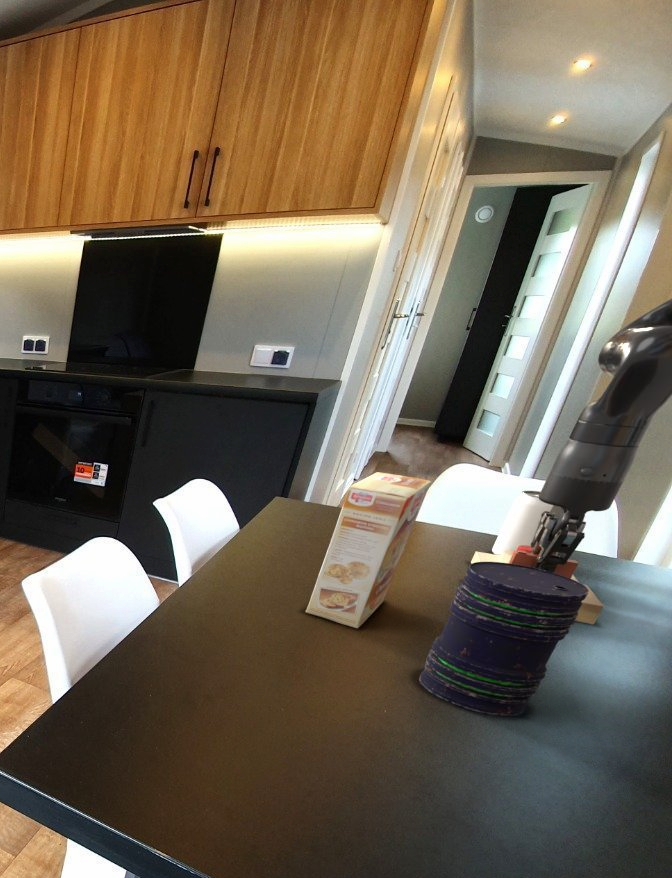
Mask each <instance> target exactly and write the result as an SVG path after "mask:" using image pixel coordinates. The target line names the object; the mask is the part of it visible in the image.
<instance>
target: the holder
mask: <svg viewBox="0 0 672 878" xmlns="http://www.w3.org/2000/svg"><path fill="white" fill-rule="evenodd" d="M538 556H539V554H533V553H527V552H526V551H523V550H517V551H514V553H513V555H512V557H511V559H510V561H509V563H510V564H516V565H522V566H527V567H532V568H533V567H534V565H535V563H536V561H537V560H536V559H537V557H538ZM578 566H579V562H578V561H577V560H575V559H570V558H569V559H568V560H567V563H565V565H560V566H557V567H556V569H555V571H554V573H556V574H559V575H562V576H565V577H568V578H570V579H571V577H572V575H574V573H575V571H576V569H577V568H578Z"/></svg>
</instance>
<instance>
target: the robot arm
mask: <svg viewBox="0 0 672 878" xmlns="http://www.w3.org/2000/svg"><path fill="white" fill-rule="evenodd" d="M597 361H598V366H599V368H600V370H601V372H604V374H606V375H608V376H610V377H612V379H611V381H610V382H609V384H608V385H607V387H606V389H605V390H604V392H602V395H601V396H600V397H598V398H595V399H593V400H590V401H589V402H588V403H587V404H585V406H584V407H583V408H582V410H581V412H580V413H579V416H578V418H577V420H576V422H575V423H574V426H573V428H572V430H571V432H570V435H569V436H568V439H567V440H566V442H565V444H564V445H563V447H562V448H561V449H560V451H559V453H558V455H557V457H556V458H555V461H554V463H553V465H552V467H551V469H550V471H549V473H548V475H547V477H546V480H545V482H544V485H543V486H542V488H541V490H540V491H539V492H540V494H539V500H540V501H542V502H544V503H547V504H550V505H553V507H552V509H551V510H550V512H548V511H544V512H543V513H542V514H541V519H540V521H539V524H538V527H537V530H536V533H535V535H534V538H533V541H532V542H531V547H532V548H533V549H531V553H533V554H539V556H538V557H537V559H536V560H537V561H536V563H535V565H534V567H533V568H537V569H541V570H545V571H549V572H552V573H554V571H555V569H556V567H557V566H560V565H565V563H567V560H568V559H570V558H571V557H572V555H573V553H574V552H575V551H576V550H577V548H578V546H580V544H581V542H582V541H583V540H584V539H585V537H586V535H585V532H584V530H585V528H586V526H587V522H586V521H584V520H585V518H586V514H587V513H589V512H604V511H607V510H609V509H610V508H611V507H612V505H613V503H614V500H615V499H616V497H617V496H618V493H619V491H620V489H621V488H622V485H623V484H624V481H625V480H626V478H627V476H628V474H629V472H630V470H631V468H632V467H633V465H634V462H635V459H636V456H637V453H638V450H639V448H640V446H641V444H642V442H643V440H644V438H645V436H646V434H647V432H648V430H649V428H650V427H651V425H652V423H653V420H654V418H655V416H656V414H657V413H658V412H659V411H660V410H661V408H663V406H665V405H666V403H667V402H669V400H670V399H671V398H672V298H670V299H668V300H666V301H665V302H663V303H661V304H659V305H658V306H656V307H654V308H653V309H650V310H649V311H648V312H645V313H644V314H642V315H641V316H639V317H638V318H636V319H634V320H633V321H632V322H629V323H627V325H625V326H624V327H623V328H621V329H619V331H617V332H616V333H615V334H614V335H612V336H611V338H609V339H608V340H607V341H606V343H605V344H604V345H603V346H602V348H601V349H600V351H599V354H598V358H597Z"/></svg>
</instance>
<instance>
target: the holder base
mask: <svg viewBox="0 0 672 878" xmlns="http://www.w3.org/2000/svg"><path fill="white" fill-rule="evenodd" d="M466 575H467V573H466V574H465V576H466ZM582 584H583V583H582ZM583 585H584V586H586V587H587V588H588V589H589V592H588V594H587V596H586V598H585V599H584V600H582V601H581V602H582V605H581V607H580V609H579V611H578V616H577V618H576V619H575V621H574V622H579V623H583V624H589V625H595V623H596V622H597V619H598V618H599V616H600V614H601V612H602V611H603V609H604V604H602V602H601V601H600V600H599V599H598V597H597V596H596V595H595V593H594V592H593V591H592V590H591V588H590V587H589V586H588V584H583Z"/></svg>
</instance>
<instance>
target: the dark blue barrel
mask: <svg viewBox="0 0 672 878" xmlns="http://www.w3.org/2000/svg"><path fill="white" fill-rule="evenodd" d="M466 574H467V575H466ZM466 574H465V576H464V577H463V578H462V581H461V583H460V584H459V585H458V587H457V589H456V592H455V594H454V598H453V600H452V601H451V603H450V608H449V610H450V614H449V616H448V619H447V621H446V623H445V625H444V628H443V629H442V632H441V634H440V635H438V636H437V637H436V638H435V640H434V641H433V642H432V646H431V648H430V650H429V651H428V654H427V656H426V659H425V660H426V662H425V664H424V666H423V668H424V669H423V670H422V671H421V672H420V675H419V677H418V680H419V683H420V685H422V686H423V687H424V689H425V690H427V691H428V692H430V693H431V694H433V695H435V696H436V697H438V698H440V699H442V700H444V701H446V702H448V703H450V704H453V705H456V706H458V707H461V708H464V709H467V710H470V711H473V712H478V713H483V714H487V715H493V716H499V717H500V716H501V717H504V716H505V717H512V716H518V715H521V714H524V712H525V710H526V708H527V702H529V701H530V700H531V699H532V697H533V695H535V694H536V693H537V691H538V689H539V687H540V685H541V684H542V683H541V682H542V680H543V679H545V678H546V673H547V671H548V669H547V666H546V665H547V663H549V660H550V658H551V657H552V654H553V653H554V651H555V649H556V647H557V645H558V643H559V642H560V641H562V640H564V639H565V637H566V636H567V635H568V634H569V633H570V628H571V626H573V624H575V622H576V621H575V619H576V618H577V616H578V611H579V609H580V607H581V605H582V602H581V601H582V600H584V599H585V598H586V596H587V594H588V592H589V589H588V588H587V587H586V586H584V585H585V584H584V585H583V583H581V582H580V581H578V580H577V581H578V582H577V581H575V580H573V579H570V578H568V577H565V576H562V575H559V574H556V573H552V572H549V571H545V570H541V569H537V568H532V567H527V566H522V565H516V564H510V563H501V562H475V563H472V564H471V563H470V564H469V566H468V567H467V570H466Z"/></svg>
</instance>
